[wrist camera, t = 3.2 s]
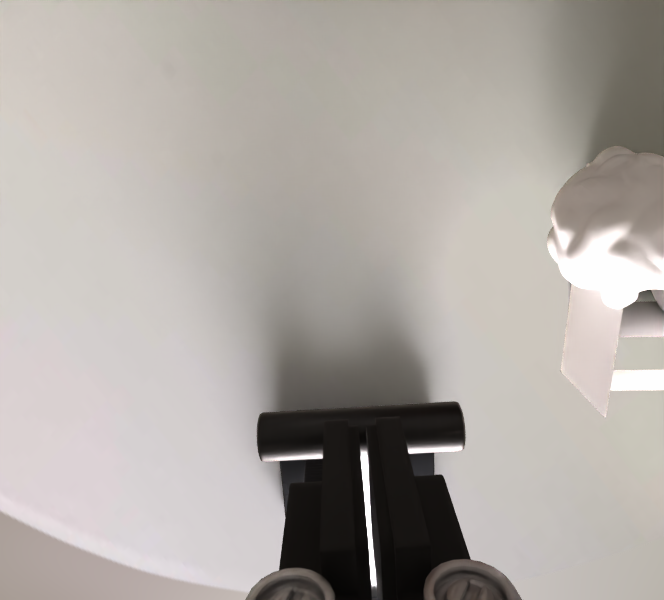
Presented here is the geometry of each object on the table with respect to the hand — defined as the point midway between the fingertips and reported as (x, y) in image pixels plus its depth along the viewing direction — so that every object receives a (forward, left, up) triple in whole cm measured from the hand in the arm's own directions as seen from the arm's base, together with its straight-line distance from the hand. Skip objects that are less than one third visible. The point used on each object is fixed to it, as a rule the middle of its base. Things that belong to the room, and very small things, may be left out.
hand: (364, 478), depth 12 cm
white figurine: (-1, +15, -15) cm, 21 cm away
